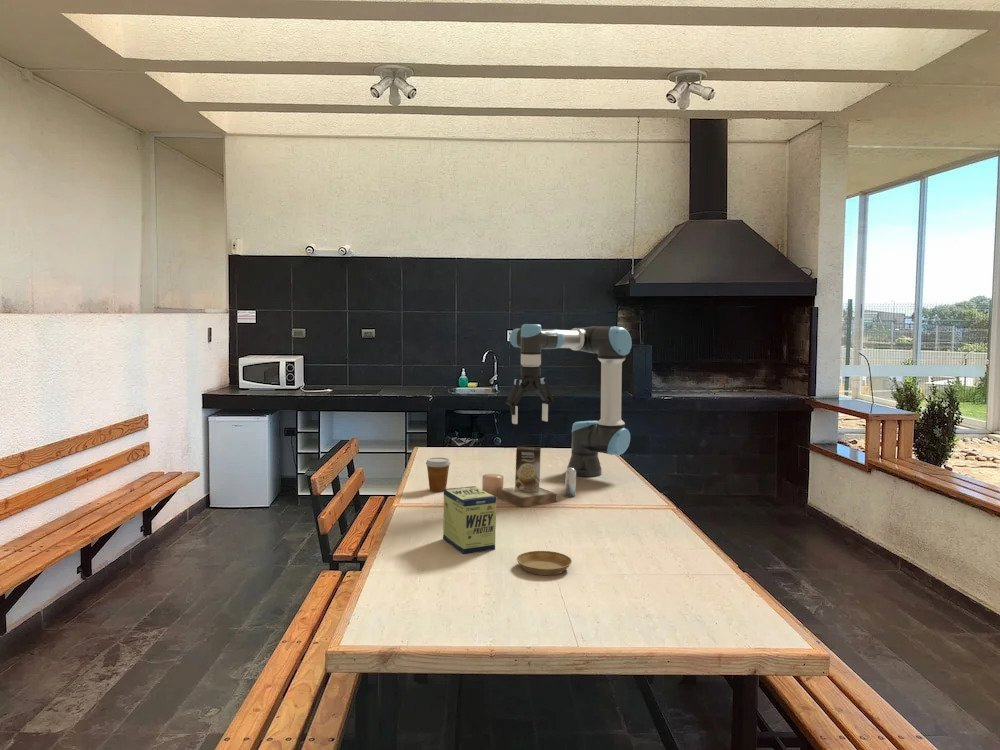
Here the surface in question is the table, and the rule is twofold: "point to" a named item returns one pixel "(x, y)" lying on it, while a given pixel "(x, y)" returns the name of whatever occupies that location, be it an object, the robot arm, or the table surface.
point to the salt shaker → (570, 482)
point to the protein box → (469, 519)
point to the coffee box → (527, 469)
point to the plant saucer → (544, 562)
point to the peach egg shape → (492, 483)
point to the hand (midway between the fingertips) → (529, 422)
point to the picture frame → (526, 497)
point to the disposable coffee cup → (437, 473)
